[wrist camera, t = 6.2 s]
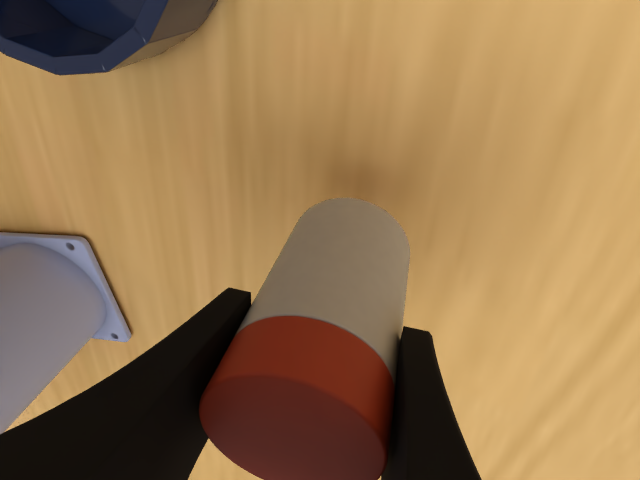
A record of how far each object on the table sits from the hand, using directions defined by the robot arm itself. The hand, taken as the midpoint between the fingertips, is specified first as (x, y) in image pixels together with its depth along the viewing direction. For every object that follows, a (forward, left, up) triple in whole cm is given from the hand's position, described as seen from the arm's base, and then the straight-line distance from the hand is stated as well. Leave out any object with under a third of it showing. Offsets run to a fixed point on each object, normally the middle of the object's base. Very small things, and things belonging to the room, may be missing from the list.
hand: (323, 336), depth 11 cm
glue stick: (0, 0, -4) cm, 4 cm away
